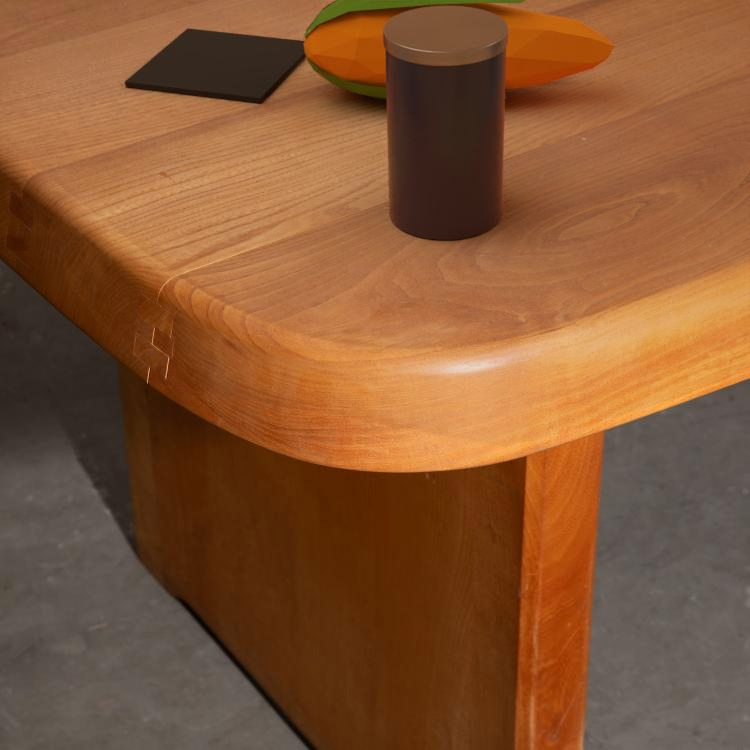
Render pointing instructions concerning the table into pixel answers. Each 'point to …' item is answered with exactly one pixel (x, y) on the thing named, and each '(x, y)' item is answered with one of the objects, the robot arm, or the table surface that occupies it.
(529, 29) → the corn
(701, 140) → the table surface
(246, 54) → the coaster
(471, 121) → the tin
